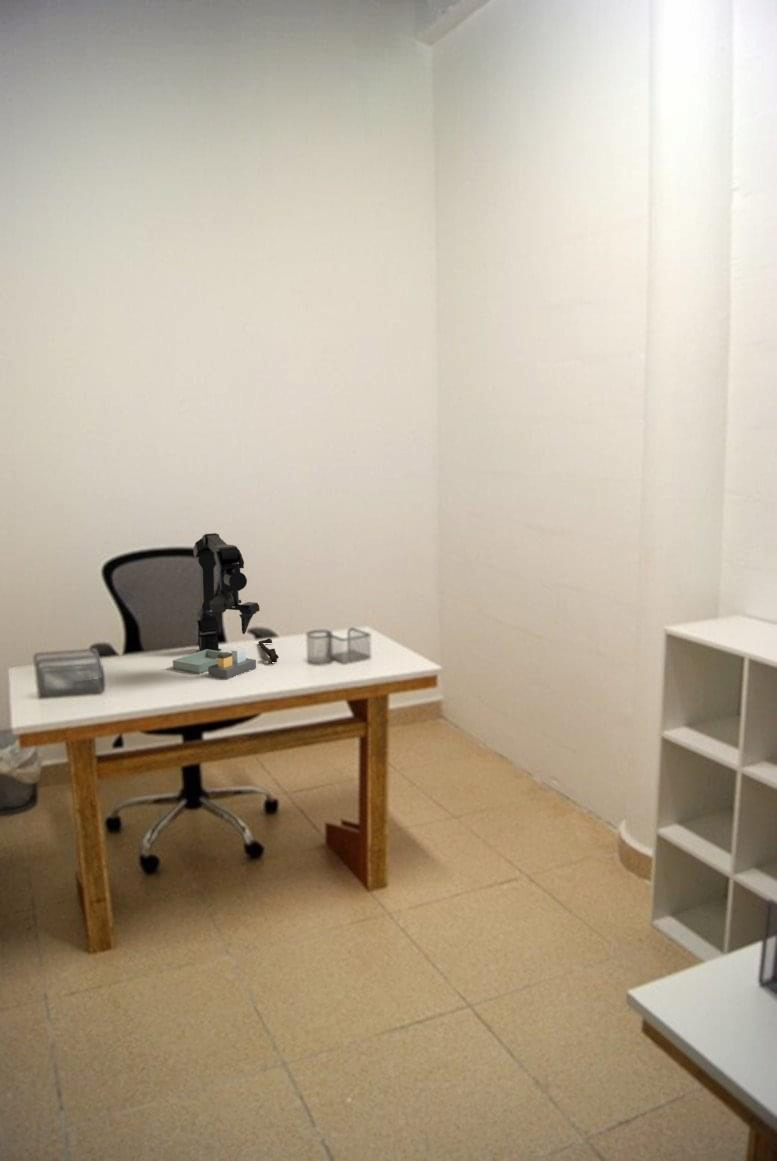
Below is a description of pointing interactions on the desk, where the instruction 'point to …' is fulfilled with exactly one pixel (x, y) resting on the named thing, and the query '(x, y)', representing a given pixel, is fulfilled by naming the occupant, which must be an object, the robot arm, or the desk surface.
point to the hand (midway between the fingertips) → (231, 632)
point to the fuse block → (232, 669)
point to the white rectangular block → (238, 655)
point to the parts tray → (197, 661)
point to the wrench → (269, 650)
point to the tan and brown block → (225, 660)
